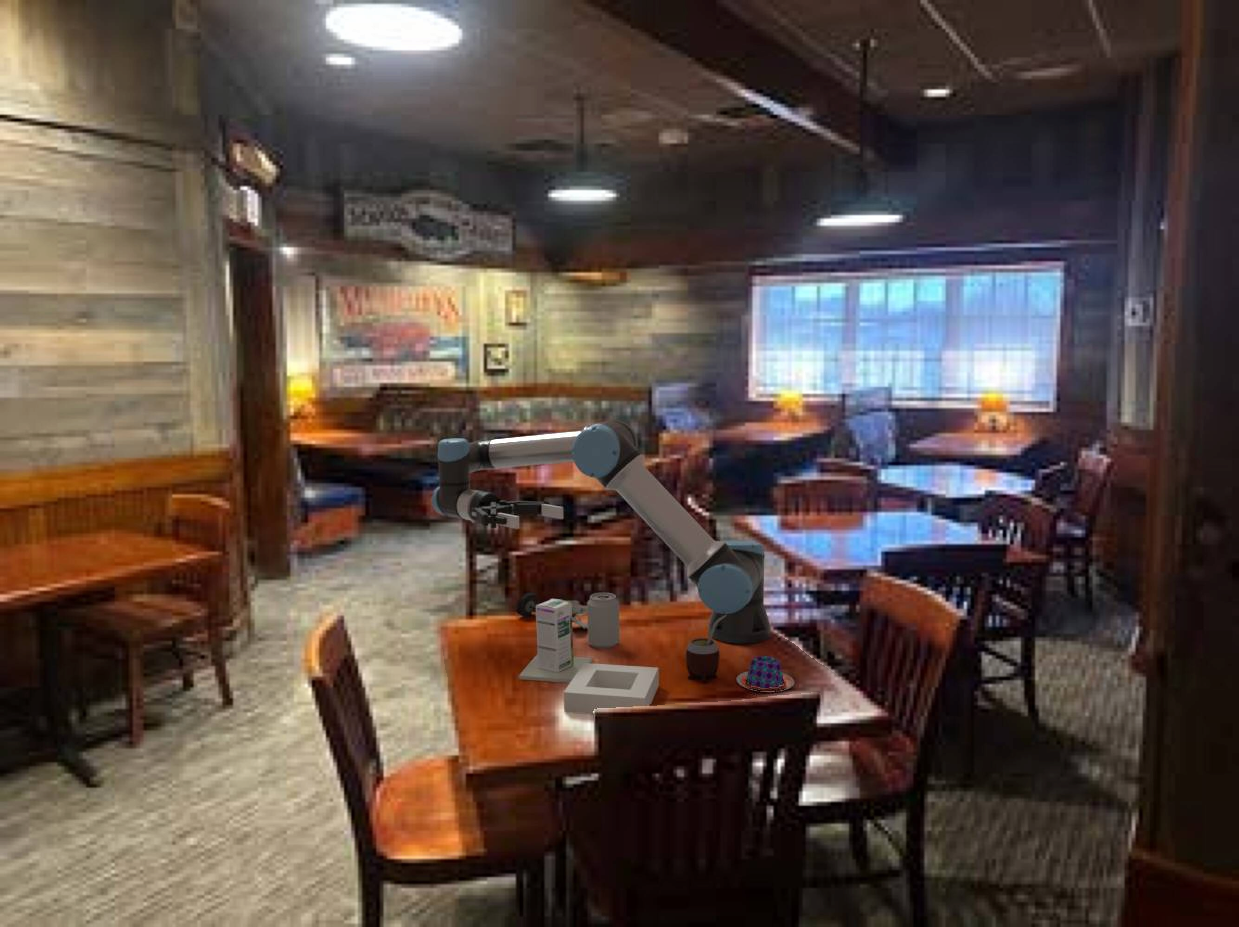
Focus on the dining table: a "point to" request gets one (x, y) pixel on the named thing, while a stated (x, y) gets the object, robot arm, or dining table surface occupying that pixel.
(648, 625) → the dining table surface
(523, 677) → the sage tile
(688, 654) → the mate gourd
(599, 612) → the can
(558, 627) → the syrup box
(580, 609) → the artificial flower
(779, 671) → the pudding
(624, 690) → the bore block
